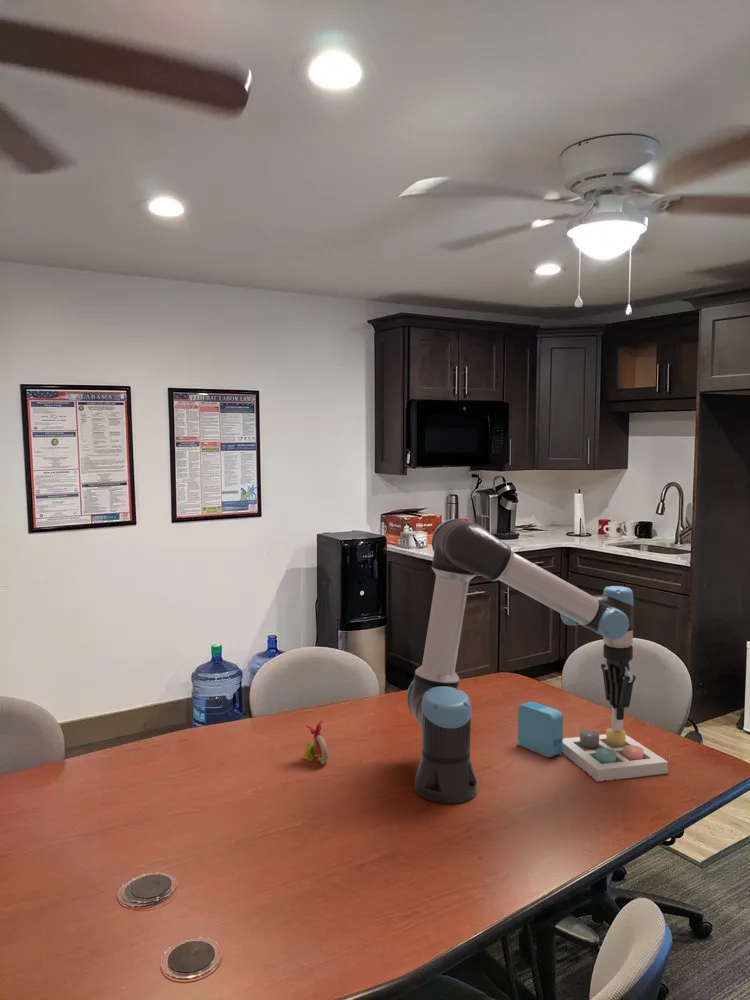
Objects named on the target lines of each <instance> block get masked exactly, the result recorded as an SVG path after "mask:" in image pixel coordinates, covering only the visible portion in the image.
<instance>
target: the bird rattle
mask: <svg viewBox="0 0 750 1000" xmlns="http://www.w3.org/2000/svg"><path fill="white" fill-rule="evenodd" d="M322 724H323V719H321V720H320V721H319V722H318V723H317V724H316V726H315V729H314V728H313V727H312V726H310V725H307V724H306V725H305V727H306V728H308V729H309V731H310V734H311V735H313V742H311V741H310V742H307V744H306V748H305V752H304V754H303V756H304V757H305V758H306V760H307V761H308V762H313V760H314V759H315V757H317V759H318V761H319V762H320V764H321V766H325V765H327V764H328V758H329V753H328V750H329V748H328V745H327V743H326V741H325V739H324V735H323V734H322V733H321V731H322Z"/></svg>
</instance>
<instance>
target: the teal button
mask: <svg viewBox="0 0 750 1000" xmlns="http://www.w3.org/2000/svg"><path fill="white" fill-rule="evenodd" d="M596 760H597V761H598V762H600V763H601V764H606V763H615V762H616V752H615V751H614V750H612V749H608V748H599V749H596Z"/></svg>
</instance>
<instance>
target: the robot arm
mask: <svg viewBox="0 0 750 1000" xmlns="http://www.w3.org/2000/svg"><path fill="white" fill-rule="evenodd" d="M431 547H432V551H433V556H432V557H433V558H432V565H431V569H432V571H433V572H434V574H435V582H434V588H433V592H432V600H431V607H430V613H429V619H428V625H427V633H426V639H425V645H424V651H423V658H422V664H421V666H419V667H417V668H416V669H415V670H414V676H413V680H412V681H411V683H410V685H409V686H408V689H407V694H406V699H407V701H406V702H407V706H408V708H409V711H410V713H411V715H413V717H414V719H415V720H416V722H417V724H418V725H419V727H420V728H421V758H420V761H419V765H418V768H417V771H416V772H415V773H416V774H415V777H414V791H415V793H416V794H417V795H418V796H419V797H421V798H423V799H425V800H426V801H429V802H433V803H439V804H459V803H465V802H467V801H470V800H472V799H474V797H475V796H476V795H477V793H478V779H477V776H476V773H475V770H474V767H473V763H472V760H471V733H472V732H471V728H472V727H471V724H472V723H471V722H472V721H471V720H472V719H471V718H472V707H471V700H470V697H469V695H468V694H467V693H465V692H464V691H463V690H462V689H459V684H460V677H459V676H458V674H457V673H456V665H457V660H458V655H459V654H458V653H459V652H458V651H459V646H460V640H461V634H462V629H463V621H464V615H465V609H466V603H467V597H468V591H469V585H470V581H471V580H472V579H473V578H475V577H476V576H477V575H478V576H480V577H481V576H482V577H484V578H486V579H487V580H489V581H491V582H496V581H499V582H501V583H504V584H506V585H507V586H508V587H511V588H513V589H515V590H517V591H519V592H520V593H523V594H524V595H526V596H528V597H530V598H532V599H534V600H535V601H537V602H539V603H541V604H543V605H545V606H546V607H549V608H550V609H552V610H554V611H556V612H558V613H559V614H560V619H561V621H562V623H563V624H565V625H567V626H575V627H576V626H582V627H585V628H586V629H589V630H591V631H593V632H594V633H596V634H598V635H600V636H601V637H602V638H603V640H602V641H603V643H604V644H603V652H602V653H603V657H604V659H605V660H606V662H605V663H601V664H600V668H601V670H602V675H603V684H604V693H605V699H606V701H608V702H609V705H610V714H611V717H610V720H611V722H610V724H611V725H610V726H611V727H610V728H611V730H613V731H622V730H624V718H625V717H624V716H625V708H630V705H631V700H632V693H633V688H634V687H633V686H634V682H635V681H636V675H634V674H633V675H632V674H631V671H630V670H631V669H630V668H631V667H630V664H629V663H630V662H631V661H632V660H633V658H634V655H633V654H634V651H633V650H634V646H633V640H634V639H633V638H634V637H633V635H634V630H633V628H634V606H635V604H634V594H633V593H634V592H633V590H632V589H631V588H629V587H628V586H627V587H626V586H621V585H619V586H618V585H610V586H605V587H604V589H603V594H600V595H591V594H589V593H588V592H586V591H585V590H582V589H580V588H579V587H577V586H575V585H574V584H572V583H569V582H568V581H566V580H564V579H562V578H560V577H558V576H557V575H555V574H553V573H552V572H550V571H548V570H546V569H544V568H542V567H540V566H539V565H537V564H535V563H533V562H531V561H530V560H529V559H526V558H524V557H522V556H520V555H519V554H517V553H515V552H514V549H513V547H512V546H511V545H509V544H507V543H505V542H504V541H502V540H501V539H499V538H498V537H496V536H495V535H493V534H492V533H491V532H489V531H488V530H487V529H485V528H484V527H482V526H481V525H479V524H477V523H474V522H470V521H469V520H465V519H462V518H453V519H452V518H451V519H446V520H444V521H442V522H440V524H439V525H438V526H437V527H436V528H435V530H434V531H433V534H432V537H431Z"/></svg>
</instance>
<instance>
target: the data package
mask: <svg viewBox="0 0 750 1000" xmlns="http://www.w3.org/2000/svg"><path fill="white" fill-rule="evenodd" d="M517 709H518V710H517V719H518V720H517V742H518V744H519V746H520V747H522V746H523V747H522V748H524V747H525V748H524V749H526V748H528V749H530V750H529V751H531V750H533V751H535V752H534V753H536V752H538V753H540V754H539V755H541V754H543V755H545V756H548V757H550V758H553V757H555V756H558V755H560V754H562V753H561V752H562V742H563V739H564V738H563V731H564V716H563V713H562V712H561V711H560V710H558V709H555V708H553V707H549V706H547V705H544V704H541V703H538V702H534V701H529V702H525V703H522V704H519V706H518V708H517ZM528 749H527V750H528ZM533 751H532V752H533ZM538 753H537V754H538ZM543 755H542V756H543ZM545 756H544V757H545ZM548 757H547V758H548Z"/></svg>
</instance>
